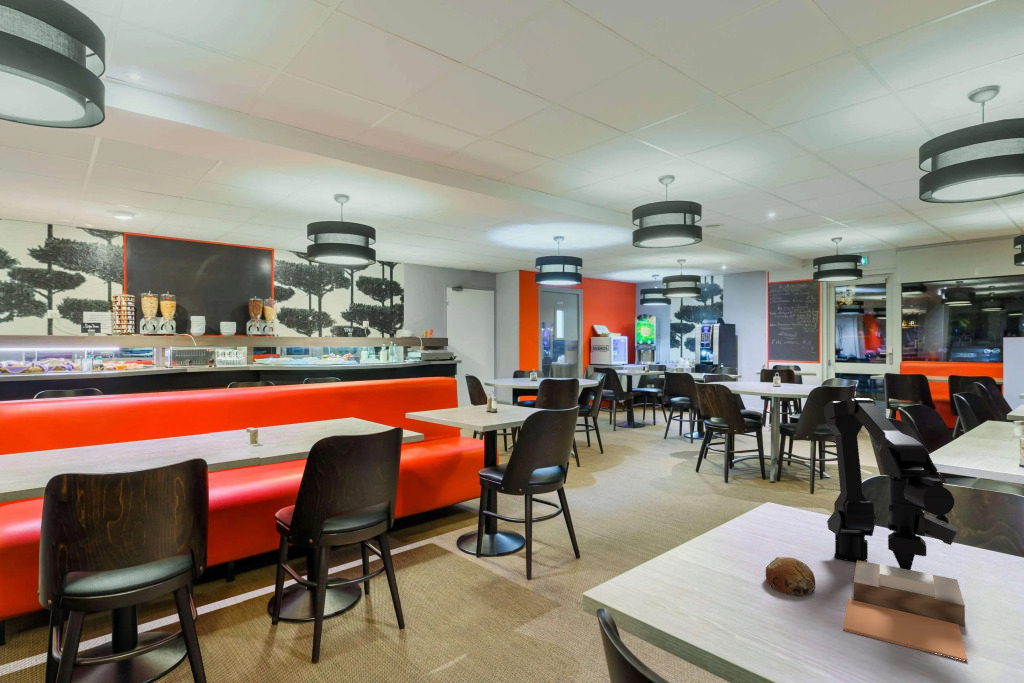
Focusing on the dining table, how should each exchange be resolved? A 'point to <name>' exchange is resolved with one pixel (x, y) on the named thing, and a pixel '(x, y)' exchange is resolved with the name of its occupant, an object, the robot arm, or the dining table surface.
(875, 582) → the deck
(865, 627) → the mat
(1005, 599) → the dining table surface
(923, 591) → the white rectangular block
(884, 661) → the dining table surface
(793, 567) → the bread roll
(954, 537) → the robot arm
